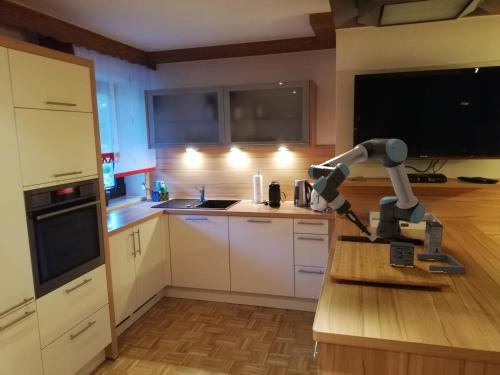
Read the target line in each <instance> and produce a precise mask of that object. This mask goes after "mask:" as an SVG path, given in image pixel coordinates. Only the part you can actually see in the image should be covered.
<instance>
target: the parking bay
mask: <svg viewBox="0 0 500 375" xmlns="http://www.w3.org/2000/svg"><path fill="white" fill-rule="evenodd" d="M416 258H417V259H434V260H433V261H442V260H446V261H445V262H447V263H448V264H449V265H445V264H444V265H443V264H441V265H440V264H438V265H436V264H431V265H430V264H429V266H428V271H429V270H430V271H443V272H447V273H446V274H461V275H463V274H466V266H465V265H463V263H461V262H459V261H458V260H457V259H455V258H454V257H453V256H452V255H450V253H441V254H437V253H426V252H416ZM416 258H415V259H416ZM417 259H416V260H417Z"/></svg>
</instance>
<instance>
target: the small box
mask: <svg viewBox="0 0 500 375" xmlns="http://www.w3.org/2000/svg"><path fill="white" fill-rule="evenodd" d="M389 244H390V246H389V261H390V263H389V265H390V264H395V265H404V266H414V265H415V264H414V261H415V245H414V243H412V242H399V241H390V243H389Z"/></svg>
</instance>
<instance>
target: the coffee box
mask: <svg viewBox="0 0 500 375" xmlns="http://www.w3.org/2000/svg"><path fill="white" fill-rule="evenodd" d="M424 231H425V232H424V246H423V251H424V253H437V254H442V245H443V244H442V243H443V231H444V226H443V225H442V224H441V222H439V221H425V230H424Z"/></svg>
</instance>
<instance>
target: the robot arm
mask: <svg viewBox="0 0 500 375" xmlns="http://www.w3.org/2000/svg"><path fill="white" fill-rule="evenodd" d="M408 151H409V150H408V146H407V144H406V143H405V142H404V140H402V139H398V138H372V139H370V140H366V141H362V143H359V144H357V145H355V146H354V147H353V148H352V149H351V150H348V151H347V152H345V153H342V154H340V155H338V156H336V157H334V158H332V159H330V160H327V161H326V162H325V161H324V162H322V163H321V164H312V165H310V166H309V168H308V169H307V175H308V178H310V180H314V183H313V185H312V188H313V190H314V191H315V192H316V194H318V195H319V196H320V197H321V198H322V199H323V200H324V201H325V202H326V203H327V204H328V208H329V207H331V208H332V209H333V210H334V211H335V212H336V213H337V215H338V216H342V215H344V216H345V218H347V220H349V221H351V222H352V223H353V224H354V225H355V226H357V228H358V229H359V230H360V231H361V234H364V235H365V236H366V237H367V238H368V239H369V240H370V241H371V242H373V243H374V241H375V240H376V239H377V236H379V237H381V238H382V237H383V238H388V239H391V238H392V239H393V238H395V239H396V238H401V237H402V236H403V231H402V227H401V224H400V221H401V222H405V223H409V224H415V225H417V224H419V223H421V222H422V221H423V220H424V218H425V215H426V211H427V210H426V206H425V204H423V203H420V202H419V199H418V198H417V196H415V195H414V193H413V190H412V186H411V184H410V180H409V176H408V173H407V170H406V168H405V165H404V163H405V161H406V158H407V157H408ZM370 160H371V161H373V160H375V161H376V160H377V161H381V164H382V166H383V168H385V169H387V172H388V175H389V178H390V181H391V184H392V186H393V189H394V190H393V191H394V193H395V195H396V196H387V197H382V198H381V199H380V201H379V219H378V224H377V226H376V229H375V234H374V233H373V232H372V231H371V230H370V229H369V228H368V225H366V224H365V223H363V222H362V221H361V220H360V219H359V217H358V216H357V215H356V214H355V212H354V211H353V210H352V209H351V208H352V204H351V203H350V201H349V200H348V199H346V197H345V196H344V195H343V194H342V193H341V192H340V191H339V190H338V188H340V186H341V185H342V183H343V182H345V180H347V178H348V176H350V173H351V171H350V167H351V166H353V165H355V164H357V163H359V162H362V163H363V162H366V161H370ZM376 235H377V236H376Z"/></svg>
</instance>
